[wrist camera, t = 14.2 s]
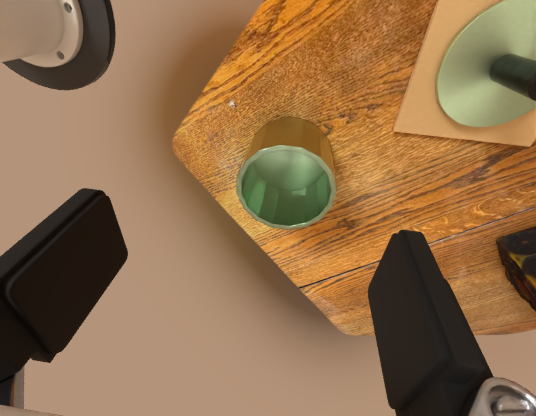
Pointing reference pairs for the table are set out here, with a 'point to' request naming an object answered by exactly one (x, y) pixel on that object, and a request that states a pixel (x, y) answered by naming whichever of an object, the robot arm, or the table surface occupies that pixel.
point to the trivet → (424, 85)
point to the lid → (491, 66)
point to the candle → (520, 262)
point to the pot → (287, 175)
